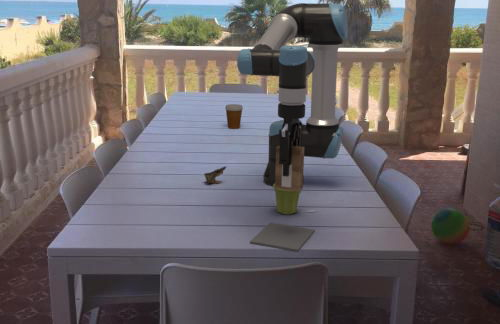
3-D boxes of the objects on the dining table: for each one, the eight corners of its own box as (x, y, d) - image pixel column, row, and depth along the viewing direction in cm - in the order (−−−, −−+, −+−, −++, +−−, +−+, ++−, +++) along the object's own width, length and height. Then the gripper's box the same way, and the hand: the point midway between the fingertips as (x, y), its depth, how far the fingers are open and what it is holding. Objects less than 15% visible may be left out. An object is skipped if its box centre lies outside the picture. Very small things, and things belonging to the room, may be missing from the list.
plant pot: (299, 206, 195) (300, 181, 192) (303, 216, 186) (304, 190, 183) (271, 206, 194) (272, 181, 192) (273, 216, 185) (274, 190, 183)
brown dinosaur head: (224, 183, 222) (225, 165, 222) (225, 185, 216) (227, 167, 215) (203, 181, 221) (204, 164, 221) (203, 184, 215) (205, 165, 215)
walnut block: (279, 184, 172) (280, 144, 169) (302, 187, 169) (304, 147, 166) (275, 188, 168) (276, 147, 165) (298, 191, 166) (300, 150, 163)
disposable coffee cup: (223, 126, 320) (223, 104, 317) (239, 125, 323) (240, 103, 320) (227, 130, 311) (227, 107, 308) (245, 129, 314) (245, 106, 311)
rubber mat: (269, 224, 179) (270, 222, 178) (314, 231, 174) (314, 229, 173) (249, 243, 164) (249, 241, 164) (297, 251, 159) (298, 249, 159)
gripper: (288, 97, 172) (286, 175, 178) (268, 106, 156) (266, 190, 162) (313, 99, 169) (310, 178, 175) (295, 108, 154) (292, 194, 160)
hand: (289, 184), depth 169 cm, fingers closed on walnut block, 4 cm apart
